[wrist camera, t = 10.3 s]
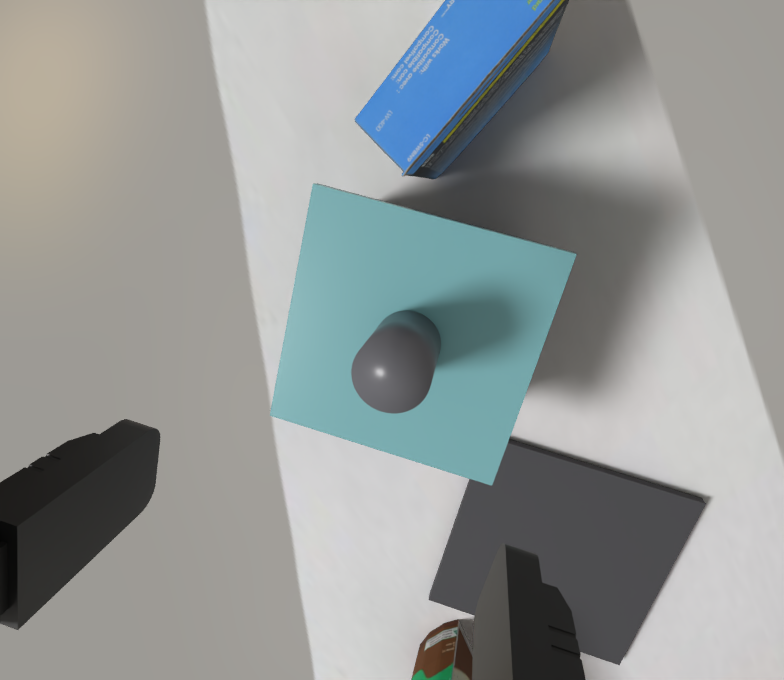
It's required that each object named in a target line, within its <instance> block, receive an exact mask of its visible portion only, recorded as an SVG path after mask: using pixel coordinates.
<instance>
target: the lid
mask: <svg viewBox="0 0 784 680" xmlns="http://www.w3.org/2000/svg"><path fill="white" fill-rule="evenodd" d="M576 255H577V254H576V253H574V252H571V251H568V250H564V249H560V248H556V247H553V246H549V245H545V244H542V243H538V242H534V241H530V240H527V239H523V238H519V237H515V236H512V235H508V234H504V233H500V232H497V231H493V230H489V229H486V228H482V227H478V226H474V225H471V224H467V223H463V222H459V221H456V220H452V219H448V218H444V217H441V216H437V215H433V214H430V213H426V212H422V211H418V210H415V209H411V208H407V207H403V206H400V205H396V204H392V203H389V202H385V201H381V200H377V199H374V198H370V197H366V196H362V195H359V194H355V193H351V192H347V191H344V190H340V189H336V188H333V187H329V186H325V185H321V184H313V186H312V192H311V197H310V202H309V208H308V213H307V218H306V224H305V229H304V235H303V240H302V245H301V251H300V256H299V261H298V267H297V272H296V278H295V283H294V288H293V294H292V299H291V304H290V310H289V315H288V321H287V326H286V331H285V337H284V342H283V347H282V353H281V358H280V364H279V369H278V374H277V380H276V385H275V390H274V396H273V401H272V406H271V412H270V416H273V417H276V418H279V419H283V420H286V421H289V422H292V423H295V424H298V425H301V426H305V427H308V428H311V429H314V430H317V431H320V432H324V433H327V434H330V435H333V436H336V437H339V438H343V439H346V440H349V441H352V442H355V443H358V444H361V445H365V446H368V447H371V448H374V449H377V450H380V451H384V452H387V453H390V454H393V455H396V456H399V457H403V458H406V459H409V460H412V461H415V462H418V463H422V464H425V465H428V466H431V467H434V468H437V469H440V470H444V471H447V472H450V473H453V474H456V475H459V476H463V477H466V478H469V479H472V480H475V481H478V482H482V483H485V484H488V485H491V486H492V485H493V482H494V479H495V476H496V474H497V471H498V468H499V465H500V463H501V460H502V457H503V454H504V452H505V449H506V446H507V444H508V441H509V438H510V435H511V433H512V430H513V427H514V424H515V422H516V419H517V416H518V414H519V411H520V408H521V405H522V403H523V400H524V397H525V394H526V392H527V389H528V386H529V383H530V381H531V378H532V375H533V373H534V370H535V367H536V364H537V362H538V359H539V356H540V353H541V351H542V348H543V345H544V342H545V340H546V337H547V334H548V332H549V329H550V326H551V323H552V321H553V318H554V315H555V312H556V310H557V307H558V304H559V302H560V299H561V296H562V293H563V291H564V288H565V285H566V282H567V280H568V277H569V274H570V271H571V269H572V266H573V263H574V261H575V258H576Z"/></svg>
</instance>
